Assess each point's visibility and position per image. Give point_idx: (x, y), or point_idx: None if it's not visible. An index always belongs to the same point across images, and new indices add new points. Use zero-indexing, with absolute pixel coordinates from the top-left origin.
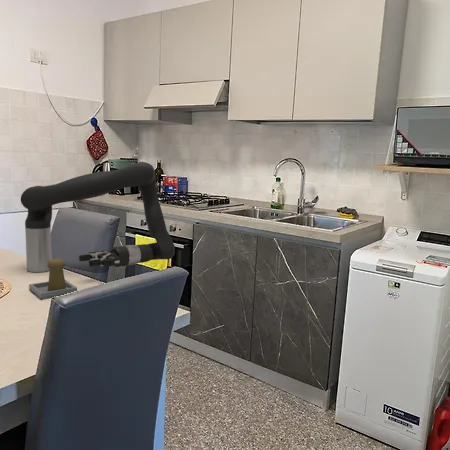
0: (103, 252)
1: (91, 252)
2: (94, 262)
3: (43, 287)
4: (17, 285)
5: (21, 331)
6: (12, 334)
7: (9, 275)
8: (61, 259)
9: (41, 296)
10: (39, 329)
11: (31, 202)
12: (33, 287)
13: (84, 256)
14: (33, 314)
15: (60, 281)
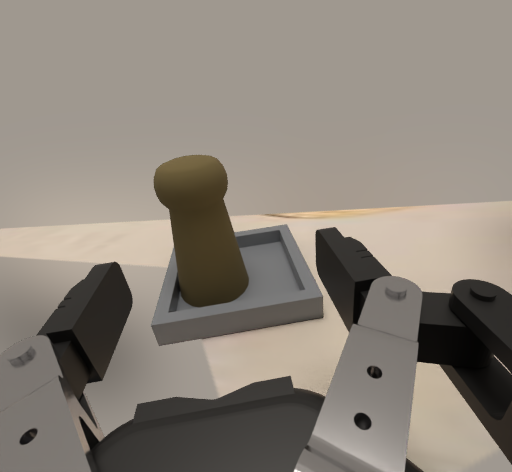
0: (303, 456)
1: (483, 306)
2: (67, 301)
3: (280, 258)
4: (346, 223)
5: (36, 238)
6: (40, 231)
7: (468, 209)
8: (182, 167)
9: None
10: (6, 254)
11: None
12: (248, 231)
13: (329, 259)
14: (94, 248)
15: (175, 252)
